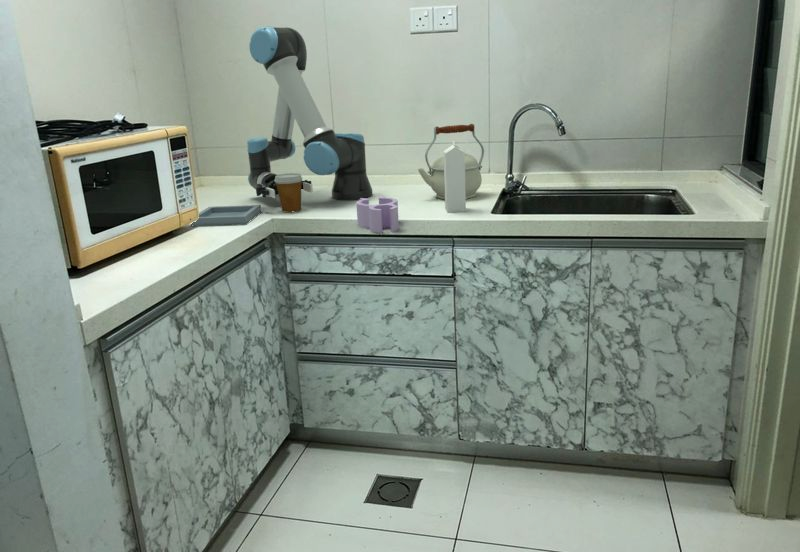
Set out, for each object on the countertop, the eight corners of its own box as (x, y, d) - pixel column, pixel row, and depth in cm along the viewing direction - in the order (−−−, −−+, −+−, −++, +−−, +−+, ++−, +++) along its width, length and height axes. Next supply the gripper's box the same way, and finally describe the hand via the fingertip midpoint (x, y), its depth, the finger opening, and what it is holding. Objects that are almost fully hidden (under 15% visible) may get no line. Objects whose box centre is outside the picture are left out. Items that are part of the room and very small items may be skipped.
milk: (463, 208, 216) (462, 139, 209) (465, 211, 210) (465, 141, 203) (444, 208, 215) (443, 140, 209) (446, 212, 210) (445, 142, 203)
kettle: (473, 189, 246) (472, 121, 239) (495, 197, 230) (494, 124, 222) (410, 196, 239) (407, 126, 232) (428, 205, 223) (425, 130, 215)
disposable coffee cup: (311, 208, 227) (308, 173, 223) (292, 214, 219) (289, 178, 216) (290, 206, 232) (286, 172, 228) (271, 212, 224) (267, 177, 221)
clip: (408, 230, 190) (407, 207, 188) (366, 235, 187) (364, 211, 185) (392, 217, 209) (391, 195, 206) (353, 220, 206) (352, 199, 204)
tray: (261, 212, 225) (260, 204, 224) (246, 224, 207) (245, 216, 207) (210, 214, 226) (209, 206, 225) (190, 226, 209) (189, 218, 208)
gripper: (303, 189, 246) (327, 197, 228) (238, 198, 234) (258, 207, 216) (301, 169, 243) (325, 175, 226) (235, 177, 231) (256, 184, 214)
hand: (293, 191), depth 221 cm, fingers open, 13 cm apart
